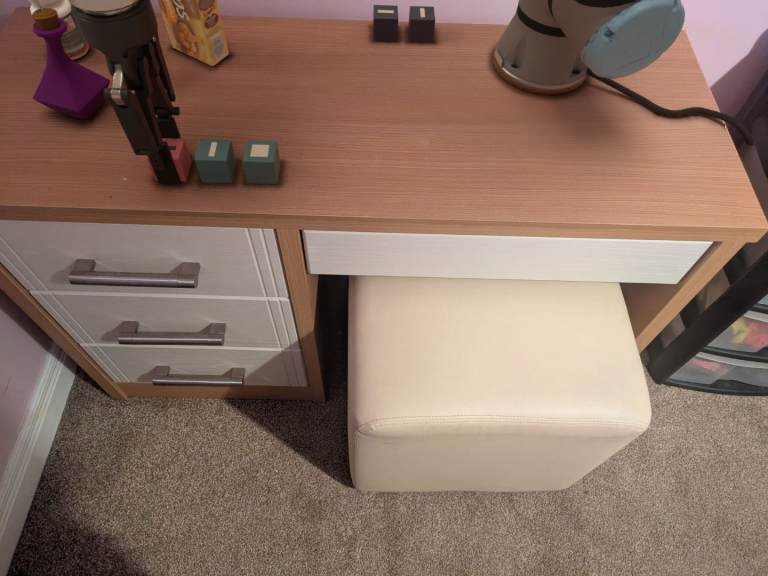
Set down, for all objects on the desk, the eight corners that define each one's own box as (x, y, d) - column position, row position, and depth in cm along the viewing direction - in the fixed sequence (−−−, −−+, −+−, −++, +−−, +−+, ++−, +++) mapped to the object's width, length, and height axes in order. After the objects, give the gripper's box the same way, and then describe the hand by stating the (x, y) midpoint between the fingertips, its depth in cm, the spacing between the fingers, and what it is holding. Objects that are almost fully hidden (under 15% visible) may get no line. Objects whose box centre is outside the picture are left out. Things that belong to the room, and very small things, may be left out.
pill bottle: (97, 49, 89) (71, -14, 81) (69, 66, 86) (38, 3, 78) (73, 36, 91) (44, -26, 82) (44, 53, 88) (11, -10, 80)
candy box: (230, 55, 90) (209, -45, 77) (212, 68, 88) (187, -33, 75) (188, 36, 92) (161, -64, 79) (170, 49, 90) (139, -52, 77)
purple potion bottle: (118, 99, 83) (66, -25, 68) (88, 130, 79) (24, 6, 64) (75, 87, 84) (14, -38, 69) (42, 117, 80) (-30, -8, 65)
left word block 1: (280, 163, 77) (277, 140, 73) (277, 184, 74) (273, 161, 71) (251, 162, 76) (246, 139, 73) (247, 183, 74) (242, 160, 71)
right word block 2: (396, 28, 96) (397, 5, 92) (396, 41, 94) (398, 18, 90) (373, 27, 96) (373, 4, 92) (373, 41, 93) (373, 17, 90)
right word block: (431, 29, 96) (433, 6, 93) (432, 42, 94) (435, 19, 90) (408, 28, 96) (409, 5, 93) (409, 42, 94) (410, 19, 90)
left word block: (236, 162, 76) (230, 139, 73) (232, 183, 74) (226, 160, 71) (207, 161, 76) (200, 138, 73) (201, 182, 74) (194, 159, 71)
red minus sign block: (192, 160, 76) (184, 137, 73) (186, 181, 74) (178, 159, 71) (162, 159, 76) (153, 136, 73) (155, 180, 74) (146, 158, 70)
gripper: (94, -47, 60) (159, 126, 79) (41, 44, 50) (129, 215, 70) (165, -45, 60) (212, 128, 80) (124, 47, 51) (189, 217, 70)
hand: (173, 168), depth 75 cm, fingers closed on red minus sign block, 4 cm apart
